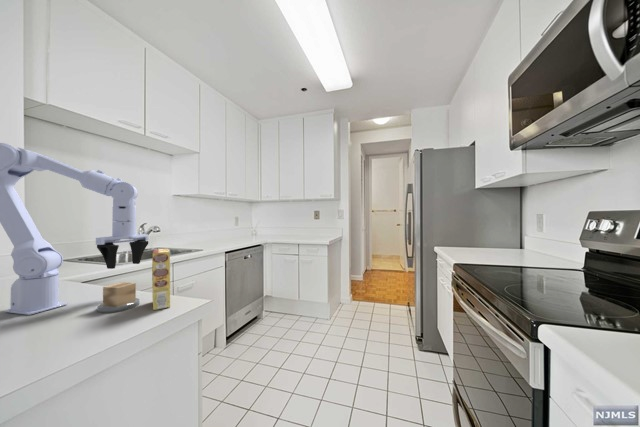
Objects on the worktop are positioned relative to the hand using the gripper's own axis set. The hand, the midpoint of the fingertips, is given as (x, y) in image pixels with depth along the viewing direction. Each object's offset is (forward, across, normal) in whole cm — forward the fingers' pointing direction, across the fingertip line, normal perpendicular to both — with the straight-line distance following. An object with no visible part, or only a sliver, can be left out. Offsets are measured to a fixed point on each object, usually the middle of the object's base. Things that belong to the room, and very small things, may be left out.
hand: (124, 265), depth 76 cm
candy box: (+10, -2, -16) cm, 19 cm away
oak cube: (+9, -6, -6) cm, 12 cm away
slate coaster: (+10, -6, -6) cm, 13 cm away
